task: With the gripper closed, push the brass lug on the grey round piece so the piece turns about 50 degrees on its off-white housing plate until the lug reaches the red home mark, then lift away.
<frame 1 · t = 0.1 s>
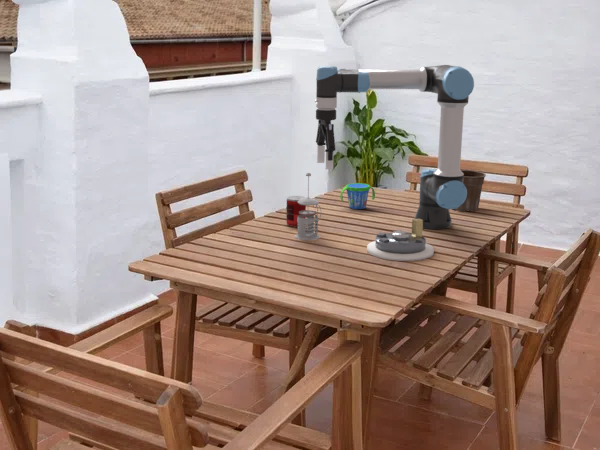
hand: (324, 165, 316), 28 cm above the table, fingers open, 13 cm apart
housing plate: (400, 251, 306), on the table
grey round piece: (400, 234, 304), point 6 cm above the table, hinge at 0.0°
snack cup: (357, 208, 374), on the table
canned food: (295, 224, 344), on the table
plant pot: (464, 209, 375), on the table
french press: (309, 237, 325), on the table
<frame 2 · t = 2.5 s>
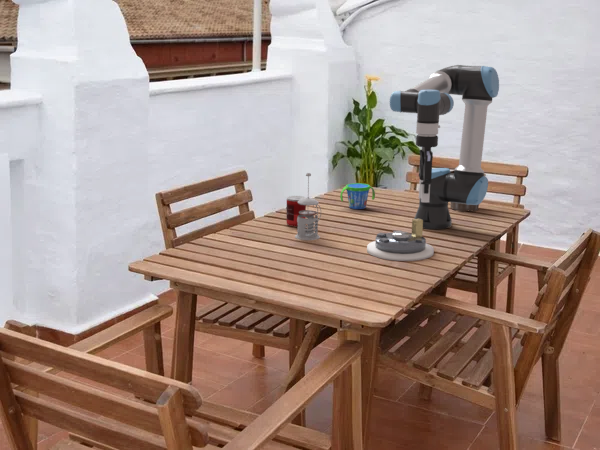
hand: (423, 200, 298), 20 cm above the table, fingers open, 6 cm apart
nothing on the table moved.
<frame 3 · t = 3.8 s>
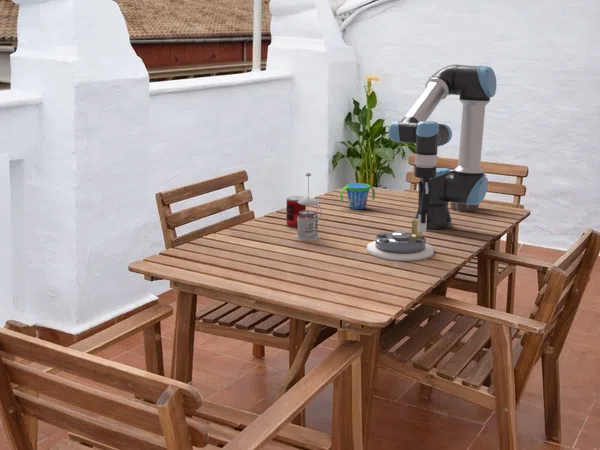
hand: (422, 231, 301), 9 cm above the table, fingers closed
nothing on the table moved.
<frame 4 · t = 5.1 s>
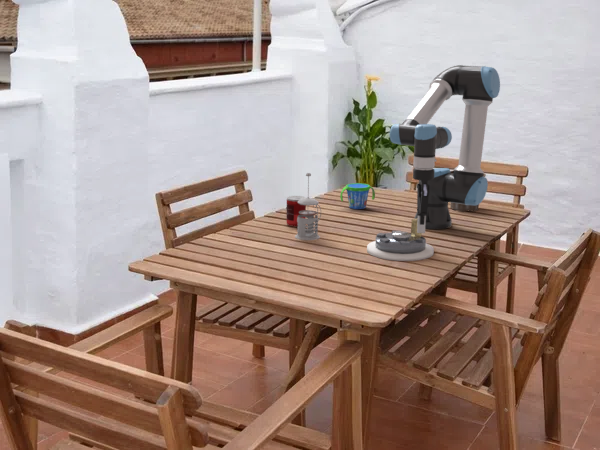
hand: (421, 232, 305), 7 cm above the table, fingers closed
grey round piece: (400, 234, 304), point 6 cm above the table, hinge at 3.1°, touching gripper
everything else where it was.
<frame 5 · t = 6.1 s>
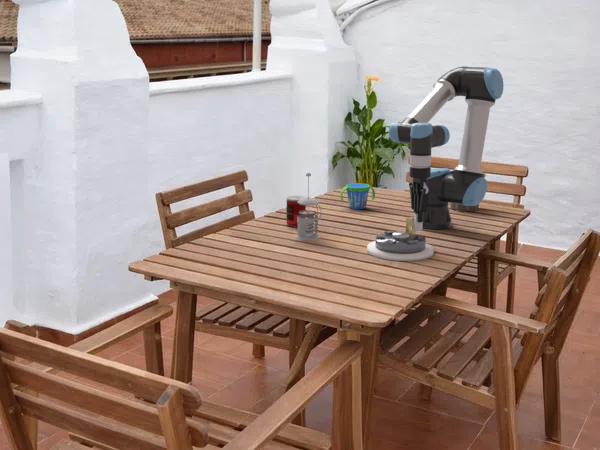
hand: (418, 230, 308), 7 cm above the table, fingers closed
grey round piece: (400, 234, 304), point 6 cm above the table, hinge at 23.4°, touching gripper
everything else where it was.
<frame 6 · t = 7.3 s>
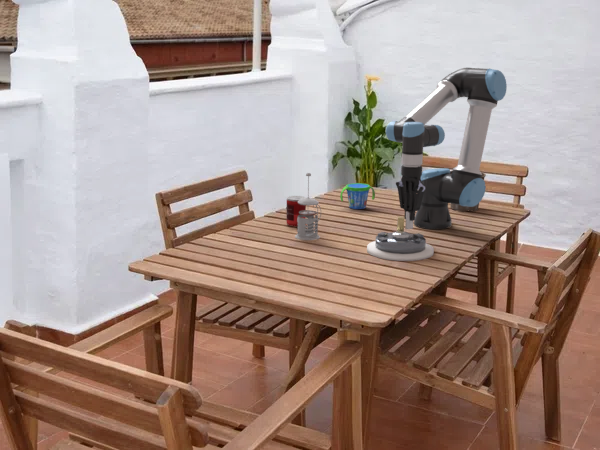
hand: (409, 228, 311), 7 cm above the table, fingers closed
grey round piece: (400, 234, 304), point 6 cm above the table, hinge at 52.6°, touching gripper
everything else where it was.
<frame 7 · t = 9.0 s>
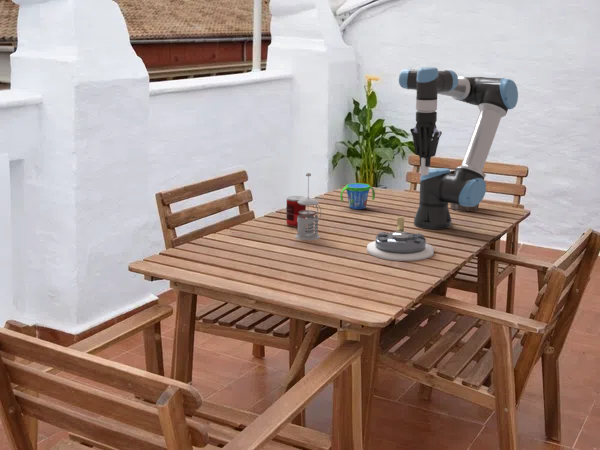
hand: (424, 174, 312), 26 cm above the table, fingers closed
grey round piece: (400, 234, 304), point 6 cm above the table, hinge at 52.7°
everything else where it was.
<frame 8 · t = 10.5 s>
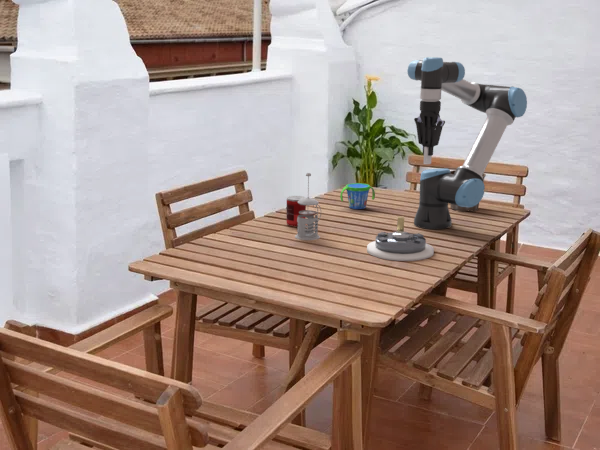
hand: (427, 163, 315), 29 cm above the table, fingers closed
nothing on the table moved.
at the end: grey round piece at +53° (first picture: +0°) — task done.
